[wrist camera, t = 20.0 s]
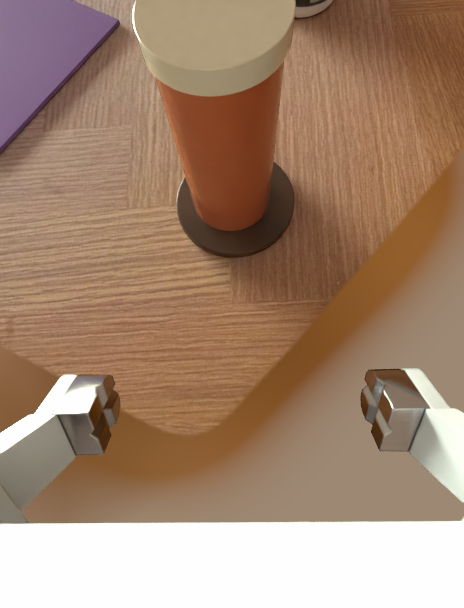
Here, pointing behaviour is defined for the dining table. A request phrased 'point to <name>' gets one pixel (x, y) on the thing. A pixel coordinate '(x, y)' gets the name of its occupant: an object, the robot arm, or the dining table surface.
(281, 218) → the coaster
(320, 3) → the pill bottle
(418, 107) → the dining table surface
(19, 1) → the board
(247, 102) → the spice jar
